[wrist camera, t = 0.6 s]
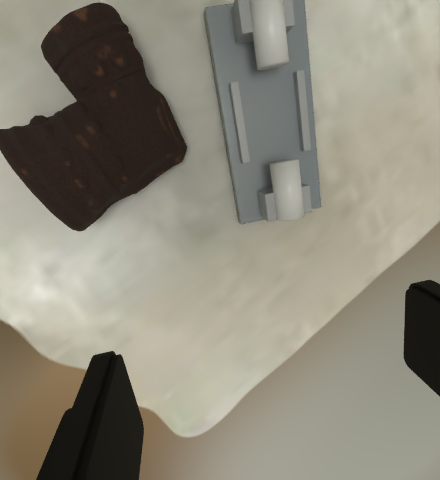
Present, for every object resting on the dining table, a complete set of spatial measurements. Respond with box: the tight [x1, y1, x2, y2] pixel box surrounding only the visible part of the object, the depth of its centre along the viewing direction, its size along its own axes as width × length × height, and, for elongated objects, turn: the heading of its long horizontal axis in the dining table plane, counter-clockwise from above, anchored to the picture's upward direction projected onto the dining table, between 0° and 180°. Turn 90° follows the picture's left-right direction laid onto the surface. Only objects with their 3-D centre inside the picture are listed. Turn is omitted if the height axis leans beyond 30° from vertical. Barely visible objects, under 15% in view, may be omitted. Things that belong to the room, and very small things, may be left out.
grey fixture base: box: [204, 0, 321, 224], centre depth 32 cm, size 22×10×6 cm, turn 10°
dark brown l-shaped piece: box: [0, 3, 187, 231], centre depth 29 cm, size 10×15×15 cm
